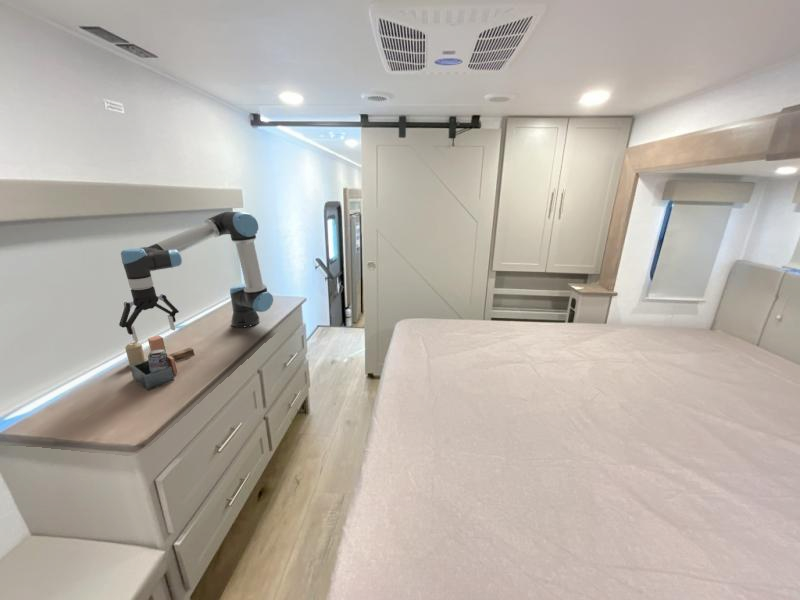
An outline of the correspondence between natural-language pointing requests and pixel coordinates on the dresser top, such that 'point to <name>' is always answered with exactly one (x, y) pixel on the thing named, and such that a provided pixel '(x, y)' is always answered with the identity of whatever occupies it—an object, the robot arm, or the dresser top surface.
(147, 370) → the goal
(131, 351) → the candle
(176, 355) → the rail
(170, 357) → the kicker
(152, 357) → the beverage can
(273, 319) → the dresser top surface
